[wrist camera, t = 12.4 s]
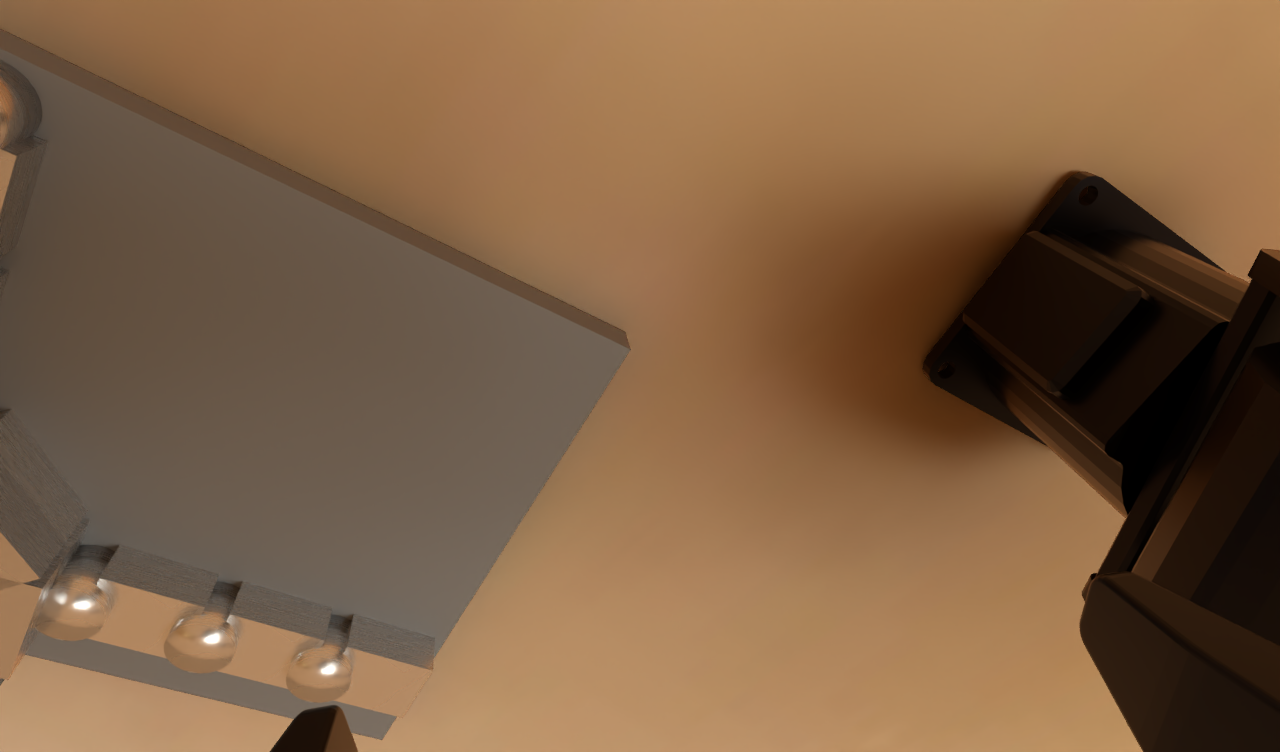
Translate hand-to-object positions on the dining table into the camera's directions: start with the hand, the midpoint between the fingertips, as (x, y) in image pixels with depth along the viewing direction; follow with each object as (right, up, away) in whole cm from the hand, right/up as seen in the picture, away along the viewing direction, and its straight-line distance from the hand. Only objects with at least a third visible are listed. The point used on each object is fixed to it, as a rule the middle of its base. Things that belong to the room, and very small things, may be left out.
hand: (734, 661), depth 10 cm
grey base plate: (-12, +2, +11) cm, 17 cm away
